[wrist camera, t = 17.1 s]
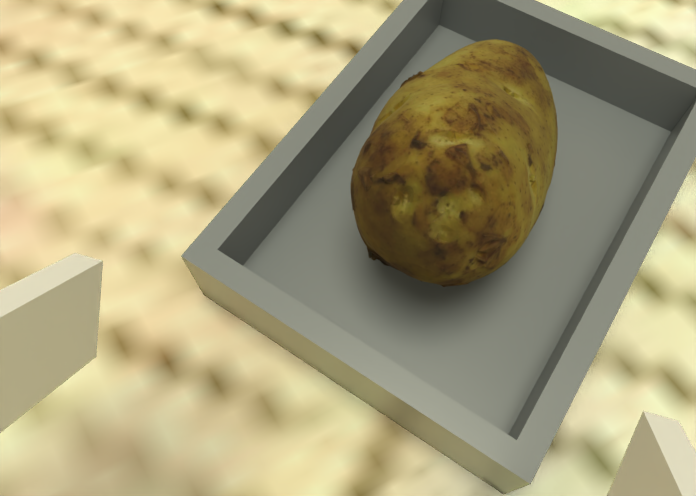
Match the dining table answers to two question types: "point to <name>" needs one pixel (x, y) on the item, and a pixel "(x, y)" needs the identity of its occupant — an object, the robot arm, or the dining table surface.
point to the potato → (458, 165)
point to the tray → (482, 294)
